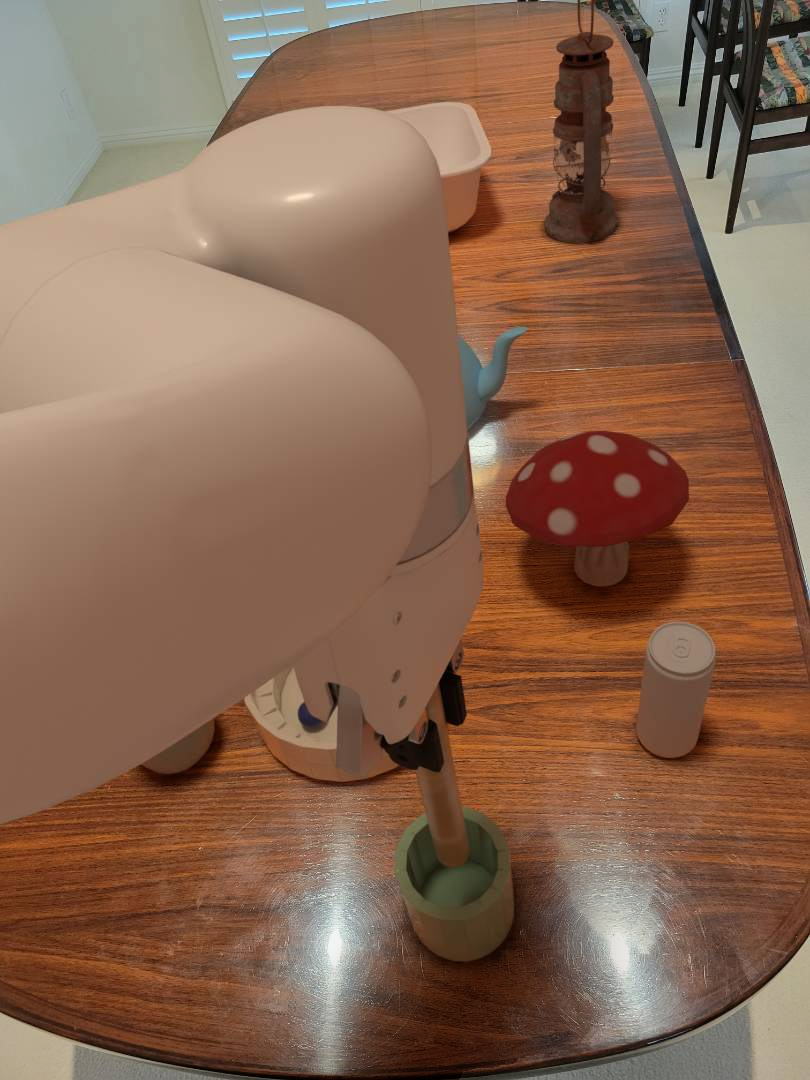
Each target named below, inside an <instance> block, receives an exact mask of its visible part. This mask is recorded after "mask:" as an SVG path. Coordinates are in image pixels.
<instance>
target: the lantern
mask: <svg viewBox="0 0 810 1080" xmlns="http://www.w3.org/2000/svg"><path fill="white" fill-rule="evenodd" d="M590 2H591V5H590V6H591V7H590V12H591V13H590V15H591V16H590V31H583V29H582V23H581V0H577V26H578V30H579V33H578V34H577V35H575V36H571V37H568V38H564V39H563V40H561V41H560V42H558V43H557V44H556V47H555V49H556V51H557V53H560V54H562V55H563V56H562V59H561V62H560V63H559V65H558V80H557V81H556V82H555V86H554V89H555V90H554V95H555V96H554V98H555V99H554V100H553V107H554V108H555V109H557V110H558V111H560V114H559V115H558V116H556V118H555V119H554V126H553V128H552V134H553V145H554V146H553V154H554V155H553V156H554V157H553V160H552V166H553V169H554V171H555V173H556V179H557V183H558V184H557V188H558V190H556V191H555V192H554V193H553V194H552V195H551V197H552V198H551V199H550V201H549V203H548V207H549V208H548V209H549V213H548V214H547V215H546V217H545V219H544V222H543V223H544V224H543V226H544V232H545V234H546V235H547V236H548V237H549V238H551V239H553V240H556V241H558V242H561V243H562V242H563V243H568V244H585V243H586V244H587V243H592V242H593V243H594V242H596V241H597V242H598V241H600V240H602V239H605V238H608V237H609V236H611V235H612V234H613V233H614V232H615V231H616V230H617V228H618V226H619V225H618V224H619V216H618V214H617V212H616V210H615V209H614V205H615V204H614V203H615V200H614V196H613V195H612V194H611V193H610V192H608V191H606V190H604V189H603V188H604V187H606V180H605V176H606V175H607V172H608V170H609V168H610V164H611V160H612V159H613V158H612V157H611V152H612V148H610V145H609V144H610V143H609V142H612V143H613V129H614V124H613V116H612V114H611V113H610V112H608V111H607V108H608V107H609V106H611V105H612V104H613V102H614V98H615V97H614V95H613V88H614V87H613V85H614V80H613V78H612V77H611V76H610V65H611V61H610V58H609V57H608V54H607V52H606V51H607V50H609V49H611V48H612V47H613V46H614V39H613V38H611V37H610V36H607V35H603V34H594V21H595V19H594V18H595V17H594V16H595V0H591V1H590ZM607 135H608V136H609V137H610V141H608V138H607V137H608V136H607ZM558 139H559V140H560V142H559V141H558ZM602 181H603V184H602ZM561 185H562V186H563V187H564V190H563V189H562V187H561Z"/></svg>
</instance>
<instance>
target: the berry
mask: <svg viewBox="0 0 810 1080" xmlns="http://www.w3.org/2000/svg"><path fill="white" fill-rule="evenodd" d="M298 719H299V721H300V723H301V724H302V725H303V726H305V727H308V728H315V727H318V726H319V725H321V724H322V723H323V721H322V720H320V719H318V718H316V717H314V716H312V715H311V714H310V712H309V710H308V708H307V706H306V704H305V702H303V703H302V704H301V705H300V707H299V709H298Z"/></svg>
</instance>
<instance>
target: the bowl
mask: <svg viewBox="0 0 810 1080" xmlns="http://www.w3.org/2000/svg"><path fill="white" fill-rule="evenodd" d="M243 701H244V704H245V706H246V709H247V711H248V713H249V715H250V717H251V719H252V721H253V723H254V725H255V727H256V729H257V731H258V733H259V736H260V738H261V739H262V740H263V742H264V744H265V745H266V747H267V748H268V750H269V751H270V753H271V755H273V756H274V757H275V758H276V759H277V760H279V761H280V762H281V763H282V764H283V765H285V766H286V767H287V768H288V769H290V770H292V771H294V772H295V773H296V772H297V773H299V774H302V775H304V776H307V777H308V778H312V779H315V780H320V781H321V780H322V781H329V782H330V781H331V782H341V783H344V782H352V781H358V780H359V781H360V780H366V779H371V778H373V777H376V776H378V775H380V774H383V773H387V772H389V771H391V770H393V769H395V768H397V767H398V766H400V765H398V764H396V763H394V762H393V761H392V760H391V759H390V757H389V754H387V753H386V752H385V750H383V751H382V756H381V758H380V759H379V760H378V761H377V763H376V764H375V765H374V766H373V767H372V769H371V770H370V771H369V772H368V773H367V775H366V776H365V777H364V778H361V777H358V776H356V775H353V774H351V773H348V772H346V771H343V770H340V769H338V768H337V766H336V753H337V713H338V705H337V707H336V708H335V710H334V712H333V714H332V715H331V717H330V719H329V720H328V722H324V721H323V723H322V724H321V725H319V726H318V727H315V728H308V727H305V726H303V725H302V724H301V723H300V721H299V719H298V709H299V707H300V705H301V704H302V703H303V702H305V701H304V699H303V696H302V693H301V690H300V687H299V684H298V681H297V678H296V674H295V671H294V667H293V665H292V666H291V667H289V668H287V669H286V670H284V671H282V672H281V673H279V674H278V675H277V676H275V677H274V678H272V679H271V680H270V681H268V682H267V683H265V684H264V685H263V686H261V687H260V688H258V689H257V690H256V691H254V692H253V693H251V694H250V695H248V696H246V697H245V698H243Z"/></svg>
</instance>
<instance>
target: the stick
mask: <svg viewBox="0 0 810 1080" xmlns="http://www.w3.org/2000/svg"><path fill="white" fill-rule="evenodd" d="M426 712H427V718H428V719H430V720H432V721H434V722H435V723H436V724H437V727H438V732H439V737H440V742H441V747H442V752H443V757H444V765H443V767H442V769H441V771H440V772H434V771H431V770H428V769H425V768H423V767H420V766H419V767H418V769H417V770H414V773H415V777H416V781H417V783H418V784H417V785H418V788H419V792H420V796H421V797H420V798H421V801H422V804H423V808H424V813H426V816H427V820H428V824H429V828H430V832H431V836H432V840H433V844H434V848H435V852H436V856H437V858H438V860H439V861H440V863H442V864H443V865H444V866H447V867H452V868H453V867H458V866H461V865H462V864H464V863H465V862H466V860H467V859H468V857H469V853H470V848H469V843H468V837H467V832H466V826H465V821H464V816H463V810H462V806H463V805H462V800H461V799H462V798H461V795H460V789H459V784H458V779H457V773H456V767H455V762H454V757H453V756H454V755H453V752H452V751H453V750H452V746H451V741H450V735H449V730H448V723H446V718H445V713H444V707H443V702H442V697H441V691H440V686H439V683H438V684H437V686H436V688H435V690H434V692H433V694H432V696H431V698H430V700H429V702H428V703H427V705H426Z"/></svg>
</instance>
